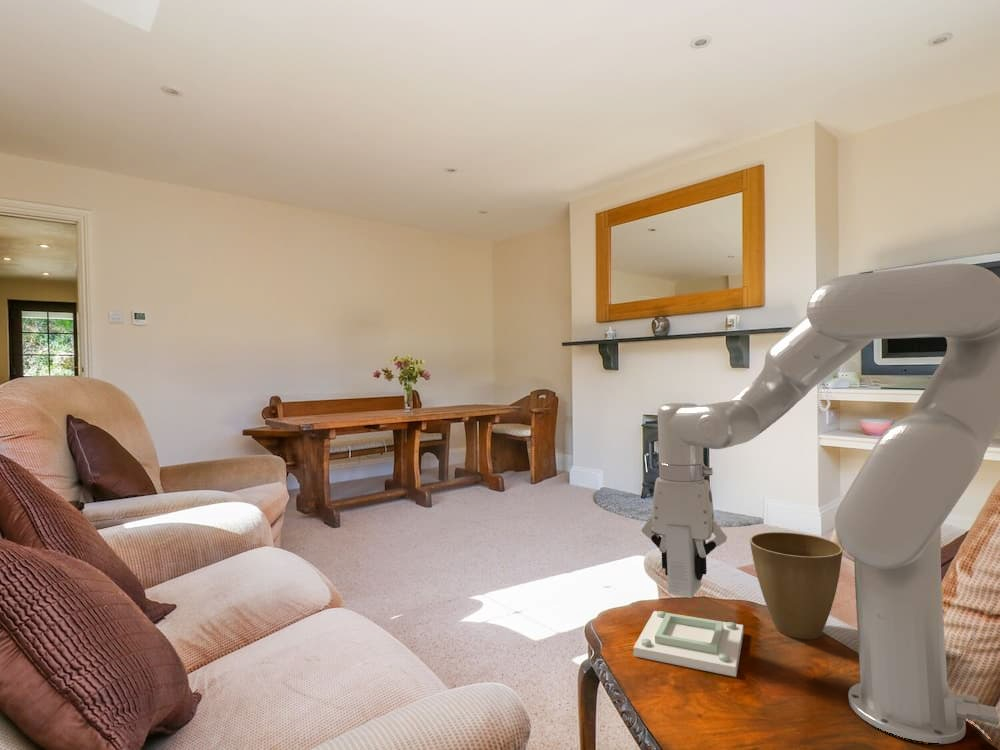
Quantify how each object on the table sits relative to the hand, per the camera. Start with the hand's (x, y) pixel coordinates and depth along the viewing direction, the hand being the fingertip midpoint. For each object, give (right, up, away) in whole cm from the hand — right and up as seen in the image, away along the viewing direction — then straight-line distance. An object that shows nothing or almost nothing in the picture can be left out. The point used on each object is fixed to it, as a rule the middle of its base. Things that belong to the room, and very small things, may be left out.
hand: (684, 574), depth 94 cm
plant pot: (+22, -12, +3) cm, 25 cm away
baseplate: (+1, -12, -1) cm, 12 cm away
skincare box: (0, -3, 0) cm, 3 cm away
